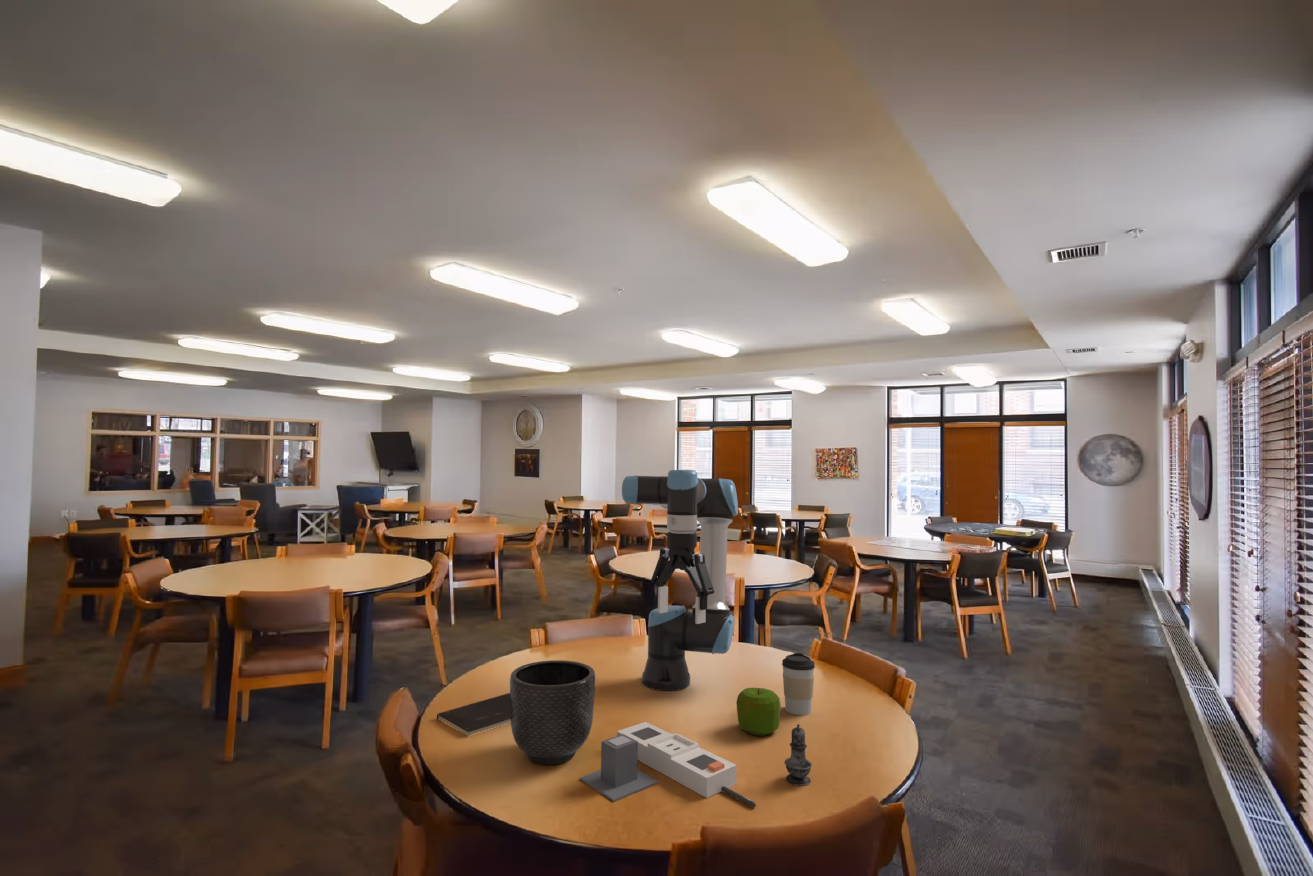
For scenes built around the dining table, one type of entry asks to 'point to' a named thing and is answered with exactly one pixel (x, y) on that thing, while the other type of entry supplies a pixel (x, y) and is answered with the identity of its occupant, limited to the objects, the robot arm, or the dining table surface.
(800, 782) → the grey chess piece
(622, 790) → the mat
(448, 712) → the hardcover book
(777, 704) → the apple
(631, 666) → the dining table surface
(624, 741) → the charger
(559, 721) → the planter
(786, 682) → the coffee cup
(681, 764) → the strip
